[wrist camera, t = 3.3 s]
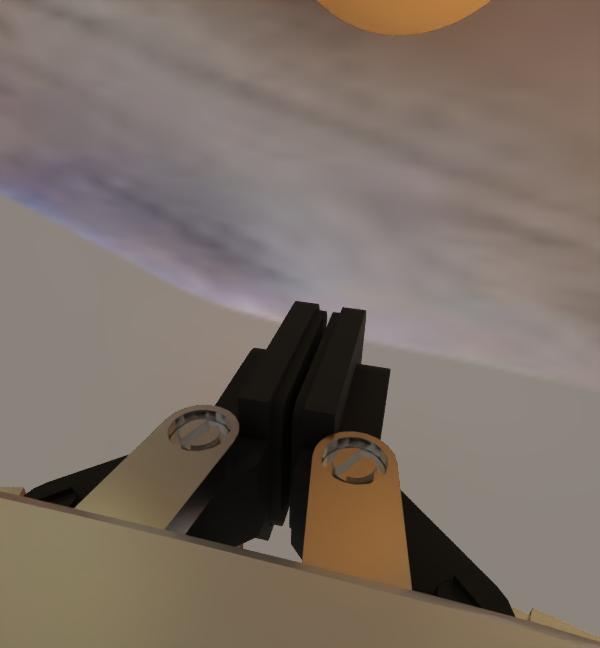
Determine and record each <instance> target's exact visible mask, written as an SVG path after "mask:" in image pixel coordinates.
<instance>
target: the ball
mask: <svg viewBox="0 0 600 648" xmlns="http://www.w3.org/2000/svg"><path fill="white" fill-rule="evenodd" d="M317 1H318V2H319V3H320V4H321V5H323V6H324V7H325V8H326V9H327V10H328V11H330V12H331V13H332V14H333V15H335V16H337V17H338V18H340V19H341V20H343V21H345V22H346V23H348V24H351V25H353V26H355V27H358V28H360V29H362V30H366V31H370V32H374V33H378V34H386V35H396V36H397V35H415V34H420V33H425V32H430V31H434V30H437V29H439V28H442V27H445V26H448V25H451V24H453V23H455V22H457V21H459V20H461V19H463V18H465V17H467V16H469V15H470V14H472V13H473V12H475V11H476V10H478V9H480V8H481V7H483V6H484V5H486V4H487V3H488V2H490V1H491V0H317Z"/></svg>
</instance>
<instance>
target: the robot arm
mask: <svg viewBox="0 0 600 648" xmlns="http://www.w3.org/2000/svg"><path fill="white" fill-rule="evenodd" d="M365 322H366V310H359V309H352V308H344V307H343V308H342V310H341V313H336V312H333V313H332V315H331V318H330V320H329V323H328V325H327V327H326V324H327V311H321V310H320V309H319V304H314V303H307V302H299V301H295V302H294V304H293V306H292V307H291V309H290V311H289V312H288V314H287V316H286V318H285V319H284V321H283V323H282V324H281V326H280V328H279V329H278V331H277V333H276V334H275V336H274V338H273V339H272V341H271V343H270V344H269V346H268V348H267V349H266V350H265V349H259V348H253V349H252V350H251V351H250V353H249V354H248V356H247V357H246V359H245V360H244V362H243V363H242V365H241V366H240V368H239V369H238V371H237V373H236V374H235V376H234V377H233V379H232V380H231V382H230V383H229V385H228V386H227V388H226V390H225V391H224V393H223V394H222V396H221V397H220V399H219V400H218V402H217V403H216V405H215V406H212V405H196V406H192V407H187V408H184V409H182V410H179V411H177V412H175V413H174V414H172V415H171V416H169V417H168V418H167V419H166V420H165V421H164V422H163V423H161V424H160V425H159V426H158V427H157V428H156V429H155V430H154V431H153V432H152V433H151V434H150V435H149V436H148V437H147V438H146V439H145V440H144V441H143V442H142V443H141V444H140V445H139V446H138V447H137V448H136V449H135V450H134V451H133V452H132V453H131V454H129V455H126V456H123V457H120V458H117V459H115V460H111V461H109V462H106V463H103V464H100V465H97V466H94V467H91V468H88V469H85V470H82V471H79V472H77V473H73V474H71V475H68V476H65V477H62V478H59V479H56V480H53V481H50V482H47V483H45V484H43V485H40V486H39V487H36V488H34V489H33V490H31V491H30V492H28V493H27V494H26V492H25V489H24V487H0V648H600V637H597V636H595V635H593V634H590V633H588V632H586V631H584V630H581V629H579V628H577V627H575V626H572V625H570V624H568V623H565V622H563V621H561V620H559V619H556V618H554V617H552V616H550V615H547V614H545V613H543V612H541V611H538V610H536V609H534V608H532V609H531V612H530V614H526V613H524V612H522V611H520V610H518V609H515V608H513V607H511V606H510V604H509V601H508V600H507V598H506V597H505V596H504V595H503V593H502V592H501V591H500V590H499V588H498V587H497V586H496V585H495V584H494V583H493V582H492V581H491V580H490V579H489V578H488V577H487V576H486V575H485V574H484V573H483V572H482V571H481V570H480V569H479V568H478V567H477V566H476V565H475V564H474V563H473V562H472V561H471V560H470V559H469V558H468V557H467V556H466V555H465V554H464V553H463V552H462V551H461V550H460V549H459V548H458V547H457V546H456V545H455V544H454V543H453V542H452V541H451V540H450V539H449V538H448V537H447V536H446V535H445V534H444V533H443V532H442V531H441V530H440V529H439V528H438V527H437V526H436V525H435V524H434V523H433V522H432V521H431V520H430V519H429V518H428V517H427V516H426V515H425V514H424V513H423V512H422V511H421V510H420V509H419V508H418V507H417V506H416V505H415V504H414V503H413V502H412V501H411V500H410V499H409V498H408V497H407V496H406V495H405V494H404V493H403V492H402V491H401V490H400V481H399V474H398V464H397V461H396V458H395V454H394V453H393V452H392V450H391V449H390V448H389V447H388V445H386V444H385V443H384V442H382V441H381V432H382V426H383V419H384V412H385V405H386V398H387V390H388V384H389V377H390V369H388V368H382V367H375V366H369V365H362V364H361V359H362V350H363V341H364V331H365ZM289 506H290V519H289V521H290V522H289V527H290V528H291V544H292V546H293V547H294V549H295V550H296V552H297V553H298V555H299V556H300V558H301V559H302V563H299V562H295V561H291V560H287V559H283V558H279V557H274V556H271V555H266V554H262V553H258V552H254V551H250V550H246V549H243V543H245V542H247V541H249V540H251V539H253V538H258V539H263V540H267V541H268V540H269V537H270V534H271V531H272V529H273V526H274V525H279V526H282V525H283V523H284V521H285V518H286V515H287V512H288V509H289Z"/></svg>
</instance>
